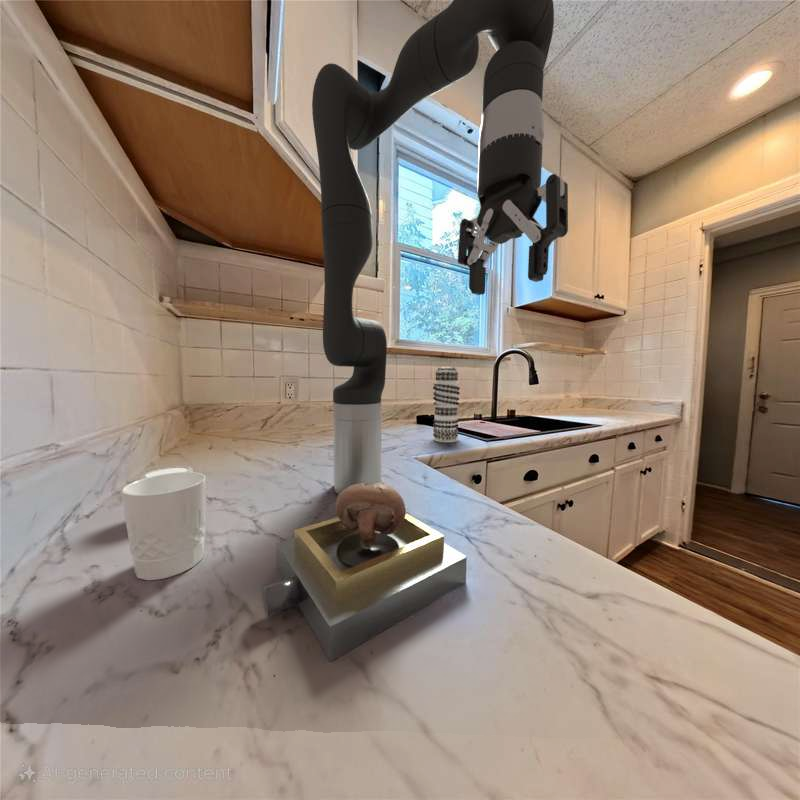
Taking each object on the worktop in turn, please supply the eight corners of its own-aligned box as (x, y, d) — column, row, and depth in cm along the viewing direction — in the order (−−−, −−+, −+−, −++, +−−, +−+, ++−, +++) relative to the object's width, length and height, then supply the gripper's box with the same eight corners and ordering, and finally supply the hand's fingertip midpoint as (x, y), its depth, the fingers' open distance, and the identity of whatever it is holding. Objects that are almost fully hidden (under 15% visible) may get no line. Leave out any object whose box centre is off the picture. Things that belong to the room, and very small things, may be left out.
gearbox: (245, 568, 37) (244, 527, 36) (381, 522, 48) (381, 491, 48) (292, 684, 23) (290, 621, 23) (465, 582, 34) (467, 539, 34)
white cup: (164, 544, 42) (160, 471, 41) (222, 545, 41) (219, 472, 41) (108, 583, 34) (101, 494, 33) (179, 585, 34) (173, 496, 33)
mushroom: (325, 552, 34) (324, 481, 34) (358, 528, 40) (358, 467, 39) (383, 574, 31) (383, 495, 30) (411, 544, 36) (412, 477, 35)
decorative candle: (426, 439, 108) (427, 366, 105) (441, 435, 115) (442, 367, 112) (449, 443, 102) (451, 366, 99) (463, 439, 109) (465, 367, 106)
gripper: (446, 170, 42) (444, 293, 44) (550, 97, 31) (542, 267, 32) (482, 190, 47) (479, 301, 48) (584, 133, 35) (575, 280, 37)
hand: (504, 287), depth 40 cm, fingers open, 8 cm apart
